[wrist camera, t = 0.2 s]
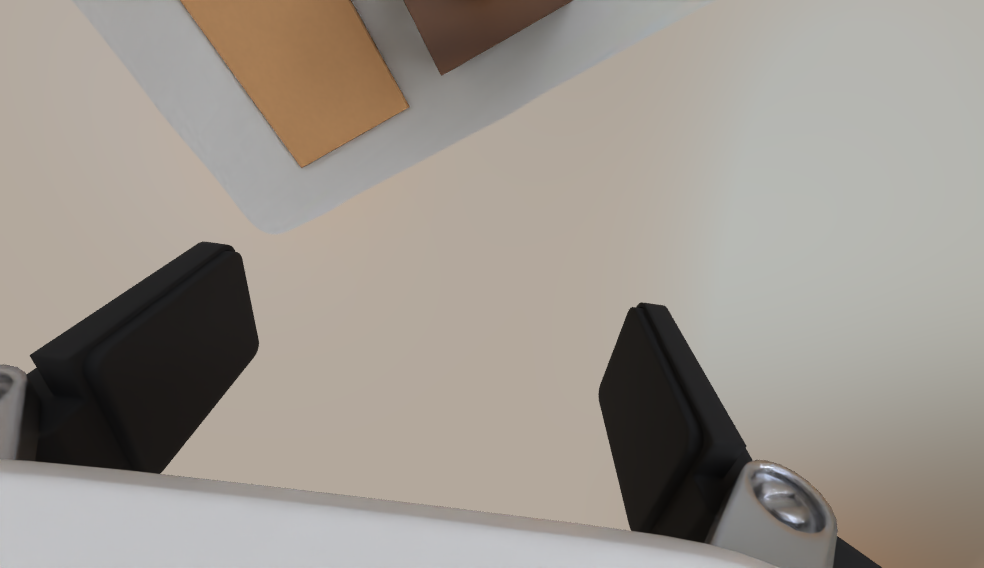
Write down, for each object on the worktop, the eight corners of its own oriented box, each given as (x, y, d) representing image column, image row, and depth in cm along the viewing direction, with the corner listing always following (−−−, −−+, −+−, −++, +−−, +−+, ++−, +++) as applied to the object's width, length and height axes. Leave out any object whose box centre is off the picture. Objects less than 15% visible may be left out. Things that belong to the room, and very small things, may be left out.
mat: (158, -36, 37) (153, -37, 36) (276, -134, 33) (273, -137, 33) (303, 166, 46) (301, 168, 45) (409, 106, 42) (408, 107, 42)
